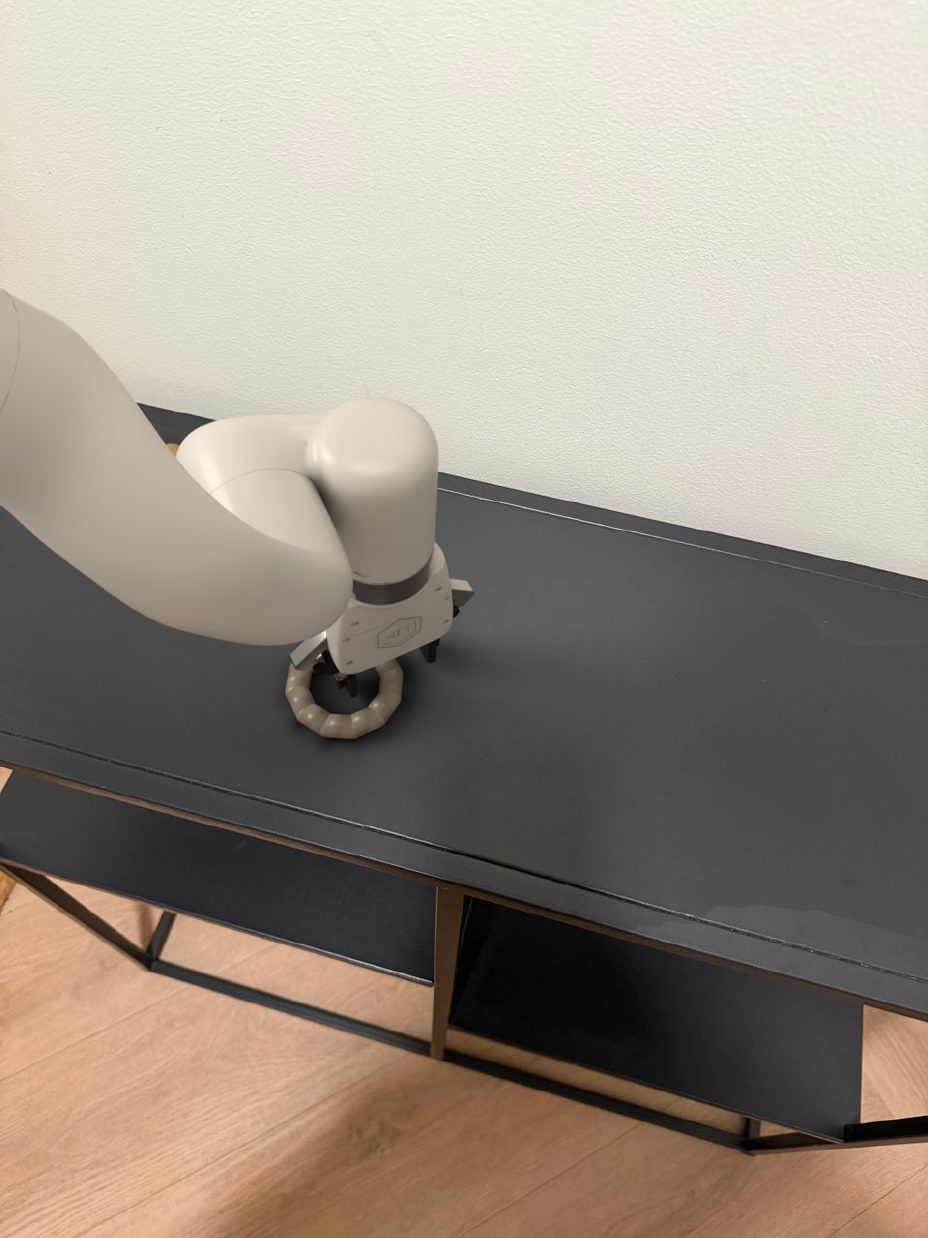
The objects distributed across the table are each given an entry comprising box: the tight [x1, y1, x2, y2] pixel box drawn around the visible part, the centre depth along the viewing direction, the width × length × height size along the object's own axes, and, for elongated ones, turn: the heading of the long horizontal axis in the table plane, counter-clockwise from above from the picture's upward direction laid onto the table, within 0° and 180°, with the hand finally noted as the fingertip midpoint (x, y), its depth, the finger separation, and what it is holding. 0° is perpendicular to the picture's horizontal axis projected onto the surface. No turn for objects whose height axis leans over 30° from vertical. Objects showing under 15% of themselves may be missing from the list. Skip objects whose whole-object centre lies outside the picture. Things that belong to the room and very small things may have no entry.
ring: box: [285, 657, 404, 740], centre depth 73 cm, size 10×10×2 cm
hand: (386, 665), depth 74 cm, fingers open, 6 cm apart
